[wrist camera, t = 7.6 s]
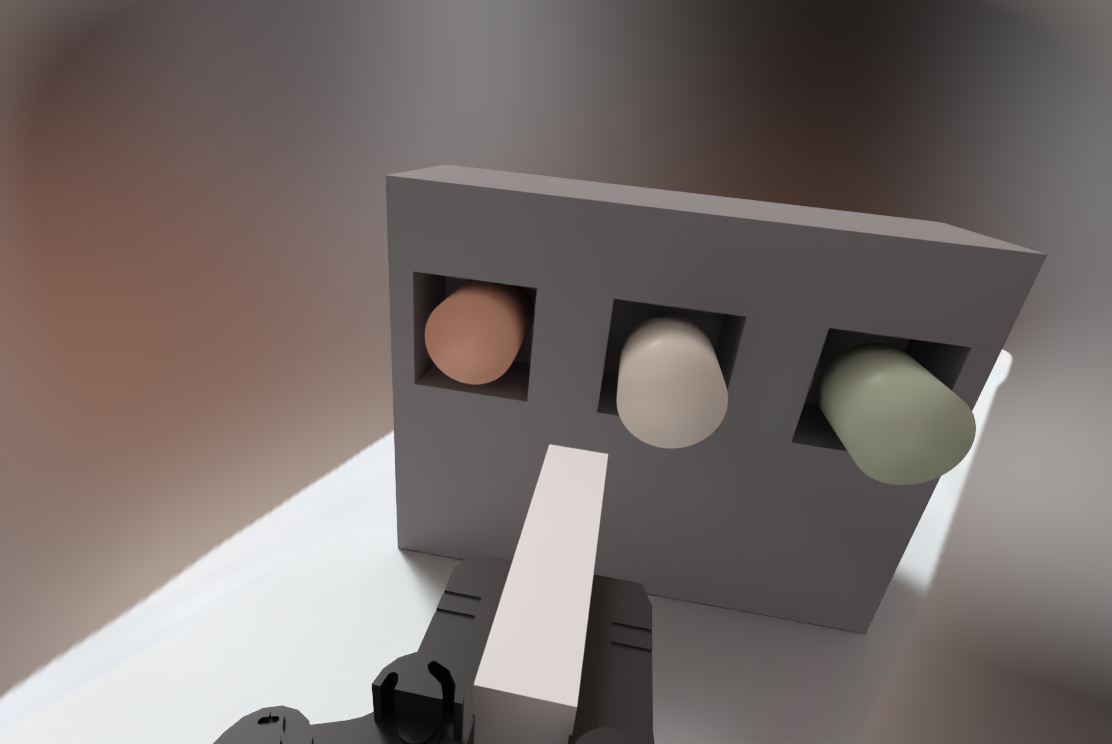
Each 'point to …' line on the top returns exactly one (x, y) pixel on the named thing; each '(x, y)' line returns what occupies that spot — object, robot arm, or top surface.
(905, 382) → the sage button
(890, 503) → the console
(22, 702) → the top surface
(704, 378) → the cream button
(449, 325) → the terracotta button
